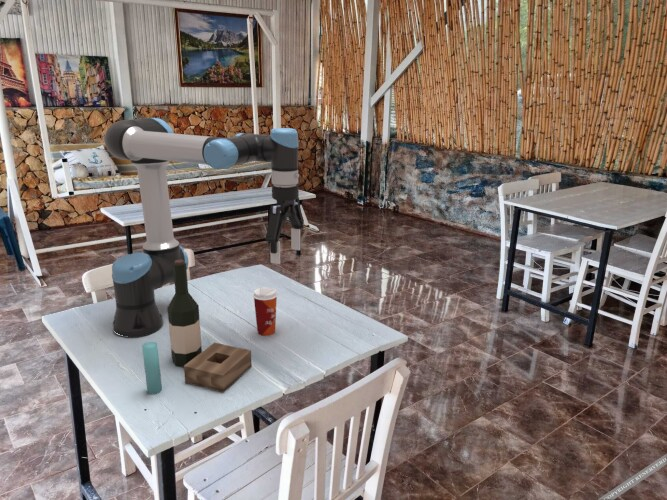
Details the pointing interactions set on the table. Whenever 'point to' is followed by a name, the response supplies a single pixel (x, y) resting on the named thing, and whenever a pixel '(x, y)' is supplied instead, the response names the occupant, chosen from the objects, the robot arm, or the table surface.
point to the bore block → (218, 367)
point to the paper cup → (265, 310)
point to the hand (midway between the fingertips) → (286, 256)
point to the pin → (152, 367)
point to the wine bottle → (183, 319)
